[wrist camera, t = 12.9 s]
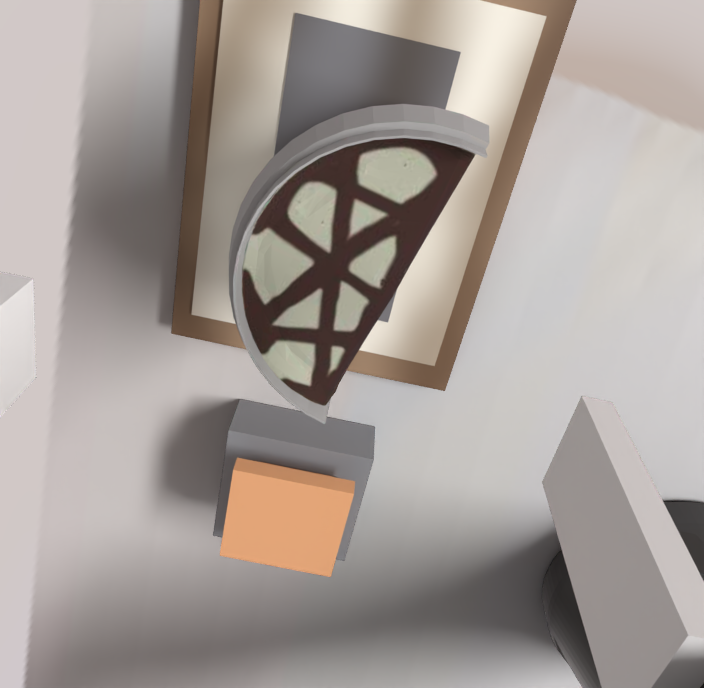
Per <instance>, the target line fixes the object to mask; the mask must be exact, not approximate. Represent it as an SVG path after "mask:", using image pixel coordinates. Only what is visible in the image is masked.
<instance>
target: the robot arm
mask: <svg viewBox="0 0 704 688" xmlns="http://www.w3.org/2000/svg"><path fill="white" fill-rule="evenodd" d="M34 320H35V319H34V282H33V278H29V277H24V276H19V275H15V274H10V273H5V272H1V271H0V417H1V416H2V415H3V414H4V413H5V412H6V410H7V409H8V408H9V407H10V406H11V405H12V404H13V403H14V402H15V400H16V399H17V398H18V397H19V396H20V395H21V394H22V393H23V392H24V391H25V389H26V388H27V387H28V386H29V385H30V384H31V383H32V382H33V381H34V379H35V378H36V356H35V321H34ZM542 483H543V487H544V490H545V493H546V497H547V500H548V504H549V507H550V511H551V514H552V518H553V521H554V525H555V528H556V532H557V535H558V538H559V542H560V545H561V551H560V552H559V553H558V554H557V555H556V557H555V558H554V560H553V561H552V563H551V565H550V566H549V569H548V571H547V573H546V576H545V579H544V583H543V589H542V600H543V606H544V610H545V615H546V619H547V623H548V627H549V631H550V634H551V637H552V639H553V642H554V644H555V646H556V648H557V649H558V651H559V652H560V654H561V655H562V656H563V658H564V659H565V660H566V662H567V663H568V664H569V666H570V667H571V669H572V671H573V673H574V674H575V676H576V678H577V679H578V681H579V683H580V684H581V686H582V688H704V503H697V502H665V503H664V502H663V500H662V498H661V496H660V494H659V492H658V490H657V489H656V487H655V485H654V483H653V481H652V479H651V477H650V475H649V473H648V471H647V469H646V467H645V465H644V463H643V461H642V459H641V457H640V455H639V453H638V451H637V449H636V447H635V445H634V443H633V441H632V439H631V437H630V436H629V434H628V432H627V430H626V428H625V426H624V424H623V422H622V420H621V418H620V416H619V414H618V412H617V410H616V408H615V406H614V404H613V402H609V401H605V400H600V399H595V398H591V397H586V396H581V399H580V401H579V403H578V405H577V407H576V410H575V412H574V414H573V416H572V418H571V420H570V423H569V425H568V427H567V429H566V431H565V434H564V436H563V438H562V440H561V442H560V444H559V447H558V449H557V451H556V453H555V455H554V457H553V460H552V462H551V464H550V466H549V468H548V471H547V473H546V475H545V477H544V479H543V481H542Z"/></svg>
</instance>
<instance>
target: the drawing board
mask: <svg viewBox="0 0 704 688" xmlns="http://www.w3.org/2000/svg"><path fill="white" fill-rule="evenodd" d="M575 3H576V0H200V7H199V18H198V30H197V41H196V53H195V65H194V76H193V88H192V99H191V111H190V123H189V134H188V146H187V157H186V169H185V181H184V192H183V204H182V215H181V227H180V238H179V250H178V262H177V273H176V285H175V296H174V308H173V320H172V331H171V334H176V335H181V336H186V337H191V338H195V339H200V340H205V341H210V342H214V343H219V344H224V345H229V346H233V347H238V348H243V349H246V347H245V345H244V343H243V341H242V339H241V337H240V334H239V331H238V328H237V326H236V323H235V320H234V317H233V312H232V307H231V301H230V296H229V251H230V244H231V237H232V230H233V227H234V224H235V221H236V218H237V215H238V212H239V209H240V206H241V203H242V201H243V200H244V198H245V196H246V194H247V192H248V190H249V188H250V186H251V185H252V183H253V181H254V180H255V178H256V177H257V176H258V175H259V173H260V172H261V171H262V169H263V168H264V167H265V166H266V164H267V163H268V162H269V161H270V159H271V158H273V157H274V156H275V155H276V154H277V153H278V152H279V151H280V150H281V149H282V148H284V147H285V146H286V145H287V144H288V143H289V142H290V141H291V140H293V139H294V138H296V137H298V136H299V135H301V134H302V133H304V132H305V131H307V130H309V129H310V128H312V127H313V126H315V125H317V124H319V123H321V122H324V121H326V120H329V119H331V118H333V117H336V116H338V115H340V114H343V113H346V112H350V111H355V110H359V109H363V108H367V107H371V106H381V105H395V104H410V105H421V106H433V107H437V108H441V109H445V110H449V111H453V112H456V113H460V114H464V115H466V116H468V117H471V118H473V119H475V120H477V121H480V122H482V123H484V124H487V125H489V139H490V143H489V145H488V147H487V148H486V152H487V155H488V156H487V158H484V157H482V156H480V155H477V154H476V155H475V156H474V158H473V160H472V161H471V163H470V165H469V167H468V168H467V170H466V172H465V173H464V175H463V177H462V179H461V180H460V182H459V184H458V185H457V187H456V189H455V190H454V192H453V194H452V195H451V197H450V199H449V201H448V202H447V204H446V206H445V207H444V209H443V211H442V212H441V214H440V216H439V217H438V219H437V221H436V222H435V224H434V226H433V227H432V229H431V231H430V232H429V234H428V236H427V238H426V239H425V241H424V243H423V244H422V246H421V248H420V250H419V251H418V253H417V255H416V256H415V258H414V260H413V262H412V263H411V265H410V267H409V269H408V270H407V272H406V274H405V276H404V278H403V279H402V281H401V283H400V285H399V287H398V288H397V290H396V292H395V294H394V296H393V297H392V299H391V300H390V302H389V303H388V305H387V307H386V308H385V310H384V311H383V313H382V314H381V316H380V317H379V319H378V320H377V322H376V324H375V325H374V327H373V328H372V330H371V331H370V333H369V335H368V336H367V338H366V339H365V341H364V343H363V344H362V346H361V348H360V349H359V351H358V352H357V354H356V356H355V357H354V359H353V361H352V362H351V364H350V365H349V367H348V369H347V371H352V372H357V373H362V374H367V375H371V376H376V377H381V378H386V379H390V380H395V381H400V382H405V383H409V384H414V385H419V386H424V387H428V388H433V389H438V390H443V391H445V389H446V386H447V383H448V380H449V377H450V374H451V371H452V368H453V365H454V362H455V359H456V356H457V353H458V350H459V347H460V344H461V341H462V338H463V335H464V332H465V330H466V327H467V324H468V321H469V318H470V315H471V312H472V309H473V306H474V303H475V300H476V297H477V294H478V291H479V288H480V285H481V282H482V279H483V276H484V273H485V270H486V267H487V264H488V261H489V258H490V255H491V252H492V249H493V246H494V244H495V241H496V238H497V235H498V232H499V229H500V226H501V223H502V220H503V217H504V214H505V211H506V208H507V205H508V202H509V199H510V196H511V193H512V190H513V187H514V184H515V181H516V178H517V175H518V172H519V169H520V166H521V163H522V160H523V158H524V155H525V152H526V149H527V146H528V143H529V140H530V137H531V134H532V131H533V128H534V125H535V122H536V119H537V116H538V113H539V110H540V107H541V104H542V101H543V98H544V95H545V92H546V89H547V86H548V83H549V80H550V77H551V74H552V72H553V69H554V65H555V63H556V60H557V57H558V54H559V51H560V48H561V45H562V42H563V39H564V36H565V32H566V30H567V27H568V23H569V21H570V18H571V15H572V12H573V9H574V6H575Z"/></svg>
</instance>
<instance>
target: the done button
mask: <svg viewBox="0 0 704 688" xmlns="http://www.w3.org/2000/svg"><path fill="white" fill-rule="evenodd" d="M354 489H355V481H351V480H346V479H341V478H336V477H331V476H330V475H325V474H320V473H315V472H310V471H305V470H300V469H295V468H290V467H285V466H280V465H275V464H270V463H265V462H257V461H252V460H247V459H242V458H237V460H236V463H235V466H234V469H233V474H232V480H231V487H230V493H229V499H228V506H227V512H226V518H225V525H224V531H223V538H222V544H221V550H220V556H224V557H229V558H235V559H240V560H245V561H250V562H255V563H260V564H266V565H271V566H276V567H281V568H286V569H291V570H297V571H302V572H307V573H312V574H317V575H323V576H328V577H331V574H332V571H333V567H334V564H335V560H336V556H337V553H338V549H339V546H340V542H341V539H342V535H343V532H344V528H345V524H346V521H347V517H348V514H349V510H350V507H351V503H352V500H353V496H354Z"/></svg>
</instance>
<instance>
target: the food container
mask: <svg viewBox="0 0 704 688" xmlns="http://www.w3.org/2000/svg"><path fill="white" fill-rule="evenodd" d="M489 143H490V139H489V125H487V124H484V123H482V122H480V121H477V120H475V119H473V118H471V117H468V116H466V115H464V114H460V113H456V112H453V111H449V110H445V109H441V108H437V107H433V106H421V105H410V104H395V105H381V106H371V107H367V108H363V109H359V110H355V111H350V112H346V113H343V114H340V115H338V116H336V117H333V118H331V119H329V120H326V121H324V122H321V123H319V124H317V125H315V126H313V127H312V128H310V129H309V130H307V131H305V132H304V133H302V134H301V135H299V136H298V137H296V138H294V139H293V140H291V141H290V142H289V143H288V144H287V145H286V146H285V147H284V148H282V149H281V150H280V151H279V152H278V153H277V154H276V155H275V156H274V157H273V158H271V159H270V161H269V162H268V163H267V164H266V166H265V167H264V168H263V169H262V171H261V172H260V173H259V175H258V176H257V177H256V178H255V180H254V181H253V183H252V185H251V186H250V188H249V190H248V192H247V194H246V196H245V198H244V200H243V201H242V203H241V206H240V209H239V212H238V215H237V218H236V221H235V224H234V227H233V230H232V237H231V244H230V251H229V296H230V301H231V307H232V312H233V317H234V320H235V323H236V326H237V328H238V331H239V334H240V337H241V339H242V341H243V343H244V345H245V347H246V349H247V351H248V353H249V354H250V356H251V358H252V360H253V362H254V363H255V365H256V367H257V368H258V370H259V371H260V372H261V374H262V375H263V376H264V377H265V379H266V380H267V381H268V382H269V384H270V385H271V386H272V387H273V388H274V389H275V390H276V391H277V392H278V393H279V394H280V395H281V396H282V397H284V398H285V399H286V400H287V401H288V402H289V403H291V404H292V405H294V406H295V407H296V408H298V409H299V410H301V411H302V412H303V413H305V414H306V415H308V416H310V417H312V418H314V419H316V420H318V421H319V422H321V423H323V424H325V423H326V418H327V413H328V408H329V404H330V399H331V397H332V396H333V394H334V393H335V392H336V389H337V387H338V384H339V382H340V381H341V379H342V377H343V375H344V374H345V372H346V370H347V369H348V367H349V365H350V364H351V362H352V361H353V359H354V357H355V356H356V354H357V352H358V351H359V349H360V348H361V346H362V344H363V343H364V341H365V339H366V338H367V336H368V335H369V333H370V331H371V330H372V328H373V327H374V325H375V324H376V322H377V320H378V319H379V317H380V316H381V314H382V313H383V311H384V310H385V308H386V307H387V305H388V303H389V302H390V300H391V299H392V297H393V296H394V294H395V292H396V290H397V288H398V287H399V285H400V283H401V281H402V279H403V278H404V276H405V274H406V272H407V270H408V269H409V267H410V265H411V263H412V262H413V260H414V258H415V256H416V255H417V253H418V251H419V250H420V248H421V246H422V244H423V243H424V241H425V239H426V238H427V236H428V234H429V232H430V231H431V229H432V227H433V226H434V224H435V222H436V221H437V219H438V217H439V216H440V214H441V212H442V211H443V209H444V207H445V206H446V204H447V202H448V201H449V199H450V197H451V195H452V194H453V192H454V190H455V189H456V187H457V185H458V184H459V182H460V180H461V179H462V177H463V175H464V173H465V172H466V170H467V168H468V167H469V165H470V163H471V161H472V160H473V158H474V156H475V155H476V154H477V155H480V156H482V157H484V158H487V156H488V155H487V152H486V148H487V147H488V145H489Z"/></svg>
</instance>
